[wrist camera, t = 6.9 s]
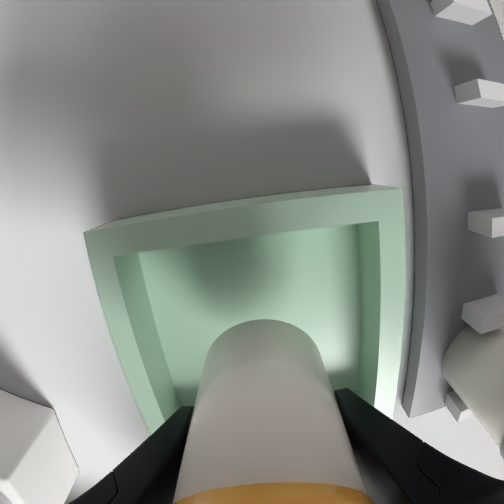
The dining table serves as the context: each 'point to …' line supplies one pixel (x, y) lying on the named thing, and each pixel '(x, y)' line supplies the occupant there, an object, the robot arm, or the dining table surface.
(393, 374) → the tray
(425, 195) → the block
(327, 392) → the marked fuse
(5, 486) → the medicine bottle
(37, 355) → the dining table surface
